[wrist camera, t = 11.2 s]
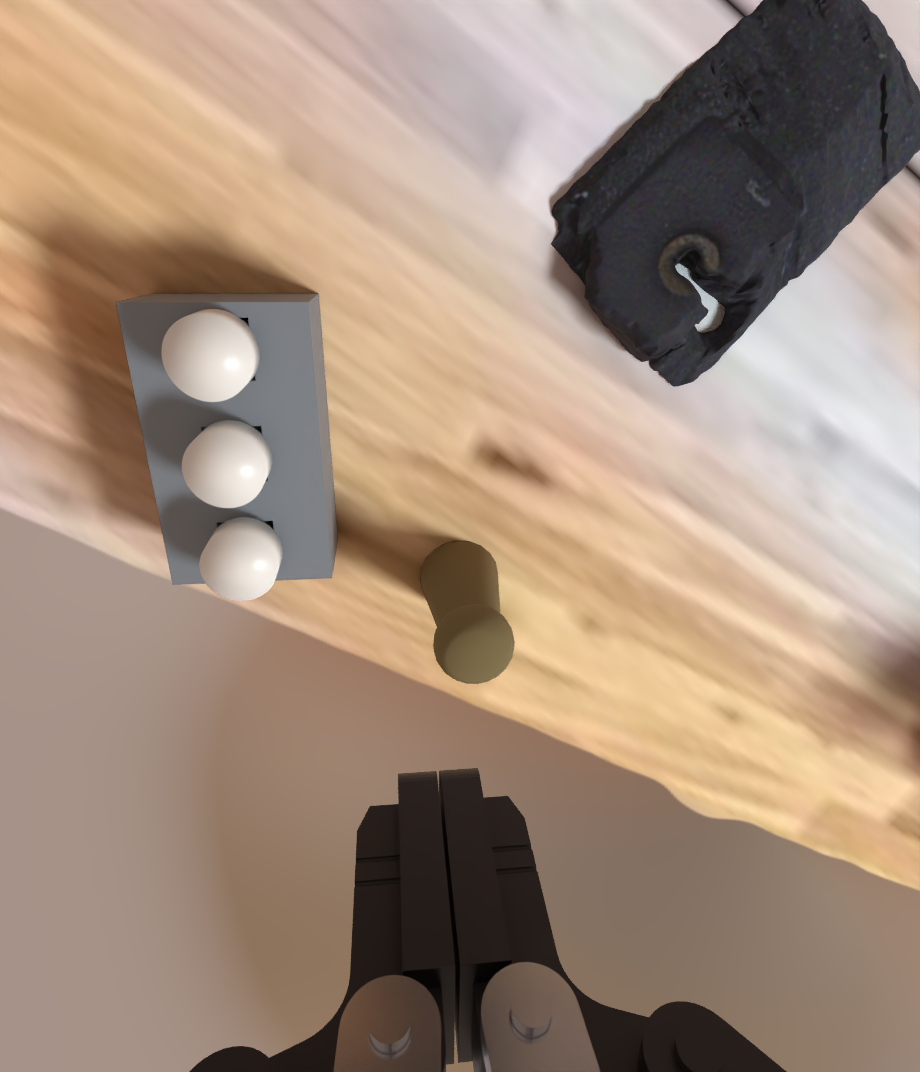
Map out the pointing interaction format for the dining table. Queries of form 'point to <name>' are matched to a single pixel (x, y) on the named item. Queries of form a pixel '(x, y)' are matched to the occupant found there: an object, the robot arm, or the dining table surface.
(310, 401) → the mount block
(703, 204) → the dark slate chunk
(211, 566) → the knob far
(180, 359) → the knob near
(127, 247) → the dining table surface
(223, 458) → the knob middle
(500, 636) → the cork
